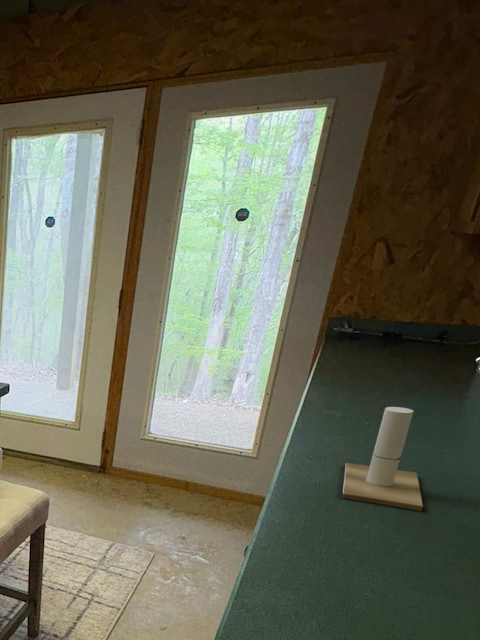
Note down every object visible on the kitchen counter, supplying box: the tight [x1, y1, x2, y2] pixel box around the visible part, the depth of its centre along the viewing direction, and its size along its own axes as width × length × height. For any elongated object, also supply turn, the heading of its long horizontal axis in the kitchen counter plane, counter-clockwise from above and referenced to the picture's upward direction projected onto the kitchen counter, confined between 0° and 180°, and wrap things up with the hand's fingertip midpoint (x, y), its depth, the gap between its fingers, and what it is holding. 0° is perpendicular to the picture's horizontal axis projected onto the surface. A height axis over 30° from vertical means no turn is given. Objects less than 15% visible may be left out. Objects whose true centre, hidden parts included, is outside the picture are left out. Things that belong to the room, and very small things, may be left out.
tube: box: [366, 406, 414, 486], centre depth 122 cm, size 4×4×15 cm
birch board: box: [341, 462, 424, 512], centre depth 125 cm, size 20×12×1 cm, turn 144°
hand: (479, 368), depth 117 cm, fingers open, 8 cm apart
